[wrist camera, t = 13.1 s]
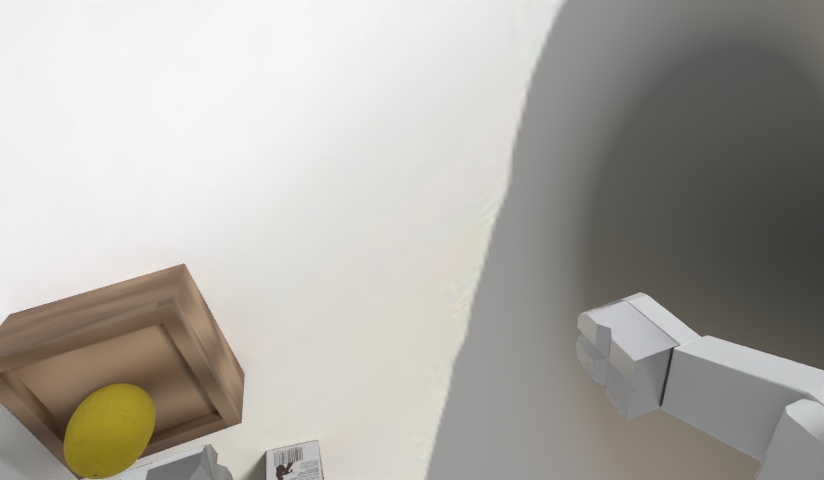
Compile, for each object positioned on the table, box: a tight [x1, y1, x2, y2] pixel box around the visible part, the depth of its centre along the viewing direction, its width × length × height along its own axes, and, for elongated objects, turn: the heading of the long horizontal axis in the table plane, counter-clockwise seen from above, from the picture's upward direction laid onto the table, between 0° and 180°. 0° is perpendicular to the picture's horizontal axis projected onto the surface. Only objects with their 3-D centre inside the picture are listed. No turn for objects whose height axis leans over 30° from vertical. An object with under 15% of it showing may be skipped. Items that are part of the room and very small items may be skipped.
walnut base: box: [0, 264, 245, 480], centre depth 38 cm, size 14×14×6 cm
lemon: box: [64, 383, 156, 479], centre depth 33 cm, size 6×6×8 cm
